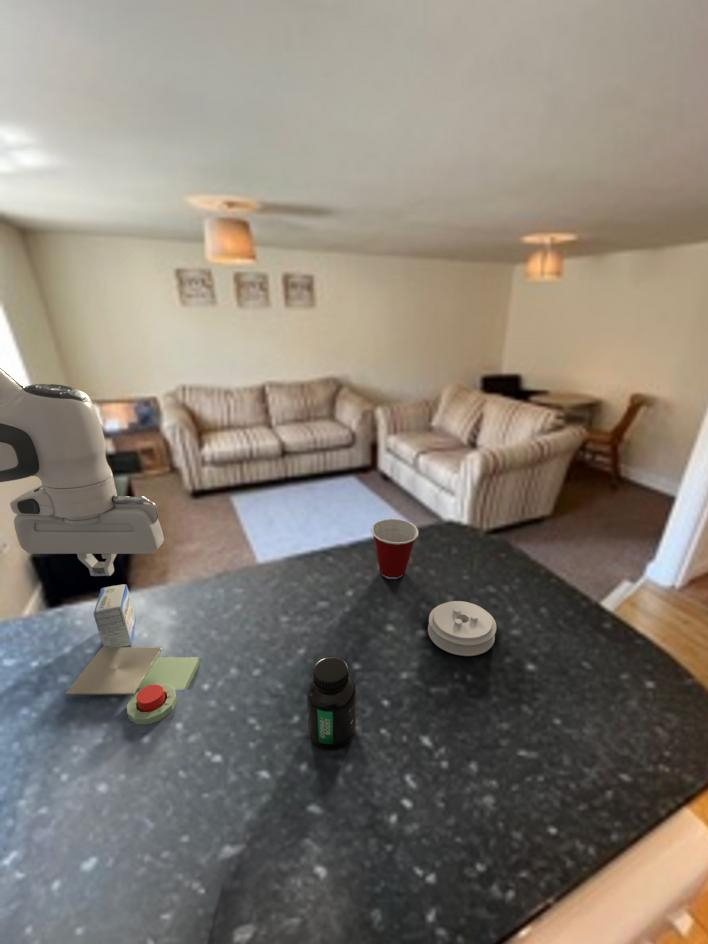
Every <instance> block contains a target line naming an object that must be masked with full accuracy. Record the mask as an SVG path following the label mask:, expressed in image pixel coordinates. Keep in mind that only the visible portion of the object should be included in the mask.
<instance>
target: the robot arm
mask: <svg viewBox="0 0 708 944" xmlns="http://www.w3.org/2000/svg"><path fill="white" fill-rule="evenodd" d="M106 453H107V443H106V438H105V434H104V431H103V427H102V424H101V421H100V418H99V415H98V412H97V409H96V407H95V405H94V403H93V401H92V400H91V398H90V397H89V395H88V394H87V393H85V392H83V391H81V390H80V389H78V388H75V387H72V386H68V385H63V384H56V383H50V384H49V383H34V384H30V385H26V384H24V383H23V382H22V381H20V380H19V379H18V378H16V377H15V376H14V374H12V373H11V372H10V371H8V370H7V369H6V368H5V367H4V366H3V365H2V364H0V483H5V482H6V483H7V482H11V481H12V482H13V481H18V480H23V479H26V478H30V477H37V478H38V479H39V480H40V481H41V485H37V486H35V487H33V488H31V489H30V490H28V491H26V492H23V493H22V494H20V495H19V496H17V497H16V498H13V500H12V501H10V503H9V506H10V510H11V511H12V512H13V514H16V516H15V517H14V519H13V526H14V531H15V535H16V538H17V541H18V543H19V547H20V548H21V549H22V550H23V551H24V552H26V553H28V554H30V555H32V554H39V555H41V554H46V555H48V554H49V555H50V554H51V555H53V554H54V555H55V554H56V555H57V554H59V555H60V554H61V555H64V554H65V555H69V554H71V555H72V554H73V555H75V554H76V556H77V559H78V561H80V562H81V563H82V564H83V565H85V567H86V568H88V571H89V574H90V577H91V576H92V577H104V576H105V577H111V576H112V575H113V574H114V572H115V566H114V561H115V559H116V557H117V555H121V554H122V555H153V554H155V553H156V552H157V551H158V550H159V549H160V548H161V546H162V545H163V544H164V541H165V537H164V533H163V529H162V526H161V522H160V521H159V520H160V519H159V513H158V507H157V505H156V503H155V502H153V501H152V500H150V499H147V498H146V497H145V496H138V495H137V496H127V495H118V492H117V488H116V483H115V479H114V475H113V470H112V468H111V466H110V465H109V463H108V461H107V455H106ZM96 554H97V555H98V554H99V555H100V556H101V558H102V559H105V561H99V560H98V559H97V558H96V557H95V555H96Z"/></svg>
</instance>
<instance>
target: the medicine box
mask: <svg viewBox="0 0 708 944" xmlns="http://www.w3.org/2000/svg"><path fill="white" fill-rule="evenodd" d="M132 603H133V602H132V599H131V596H130V591H129V587H128V584H117V585H111V586H106V587H102V588H100V591H99V595H98V598H97V601H96V604H95V607H94V611H93V618H94V622H95V625H96V628H97V631H98V633H99V637H100V640H101V644H102V647H130V646H132V645H133V640H134V633H135V627H136V623H137V622H136V621H137V618H136V615H135V611H134V606H133V604H132Z"/></svg>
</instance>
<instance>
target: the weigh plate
mask: <svg viewBox="0 0 708 944" xmlns="http://www.w3.org/2000/svg"><path fill="white" fill-rule="evenodd" d="M162 650H163V647H160V646H158V647H157V646H155V647H153V646H151V647H150V646H149V647H147V646H145V647H143V646H142V647H141V646H138V647H137V646H131V647H130V646H125V647H103V646H101V648H100V649H99V650H98V651H97V653H96V654H95V655H94V657H93V658H92V659H91V660H90V662H89V663H88V664H87V666H86V667H85V668H84V669H83V670H82V672H81V673H80V675H78V676H77V678H76V680H74V682H73V683H72V685H70V687H69V688H68V690H67V691H66V692H65V696H133V695H135V694H136V693H137V692H138V691H139V690H138V688H139V686H140V685H141V683H142V681H143V680H144V678H145V677H146V675H147V673H148V672H149V670H150V668H151V667H152V665H153V663H154V662H155V660H156V658H157V657H159V655H160V654H161V652H162Z"/></svg>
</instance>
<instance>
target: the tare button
mask: <svg viewBox="0 0 708 944" xmlns="http://www.w3.org/2000/svg"><path fill="white" fill-rule="evenodd" d="M137 692H138V694H137V696H136V700H137V703H138V710H139V711H141V712H151V711H154V710H156V709H158V708H159V707H161V706H162V705H163V704H164V703H165V701H166V697H165V694H164V690H163V687H162V686H160V685H156V684H154V685H149V686H146V687H144V688H143V689H140V690H138V691H137Z"/></svg>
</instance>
